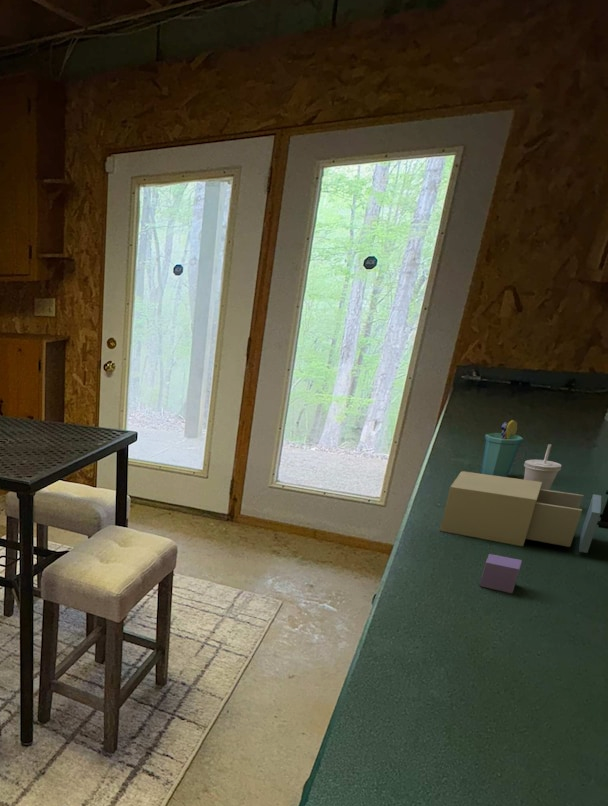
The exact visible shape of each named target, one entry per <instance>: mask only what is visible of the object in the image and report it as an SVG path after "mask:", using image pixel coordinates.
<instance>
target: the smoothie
mask: <svg viewBox="0 0 608 806" xmlns="http://www.w3.org/2000/svg"><path fill="white" fill-rule="evenodd" d="M551 449H552V444H551V443H549V444H547V448H546V451H545V455H544V458H543V459H527V460H525V461H524V463H523V467H524V475H523V480H531V481H538V482H542V485H541V488H540V489H545V490H551V488H552V485H553V483H554V481H555V479H556V477H557V475H558V473H559V472H560V471H561V470H562V465H563V464H561V463H559V462H555V461H552V460H548V459H549V456H550V452H551Z"/></svg>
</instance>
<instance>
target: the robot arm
mask: <svg viewBox="0 0 608 806" xmlns="http://www.w3.org/2000/svg"><path fill="white" fill-rule="evenodd" d="M605 495H608V490H605ZM601 514H602V516H601V518H599V521H601V522H607V523H608V498H607V500H606V502H605V505H604V508H603V511H602V513H601ZM598 528H600V529H606V530H608V526H602V525H598Z"/></svg>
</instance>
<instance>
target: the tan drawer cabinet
mask: <svg viewBox="0 0 608 806" xmlns="http://www.w3.org/2000/svg"><path fill="white" fill-rule="evenodd" d="M541 485H542V482H538V481H531V480H524V478H514V477H508V476H507V477H501V476H494V475H486V474H481V473H478V472H471V471H465V470H461V471H460V473H459V474H458V475H457V477H456V478H455V479H454V481H453V483H452V484H451V485H450V487H449V490H448V496H447V499H446V503H445V506H444V507H445V508H444V511H443V517H442V519H441V524H440V528H439V531H440V532H443V533H444V532H445V533H450V534H455V535H460V536H465V537H470V538H475V539H481V540H486V541H490V542H491V541H492V542H497V543H502V544H508V545H512V546H519V547H524V545H525V541H526V540H527V539H526V535H527V532H528V528H529V525H530V522H531V518H532V515H533V511H534V508H535V505H536V501H537V498H538V495H539V491H540V488H541Z"/></svg>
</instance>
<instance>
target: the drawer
mask: <svg viewBox="0 0 608 806" xmlns="http://www.w3.org/2000/svg"><path fill="white" fill-rule="evenodd" d="M591 496H592V497H591V500H590V503H589V505H588V507H587V512H586V515H585V518H584V521H583V524H582V527H581V529H580V536H579V546H578V552H580V553H586V554H588V552H589V549H590V547H591V543H592V540H593V537H594V535H595V532H596V530H597V529H596V528H597V526H599V525H602V526H608V523H607V522H601V521H600V519H601V516H602V514H603V513H602V495H601V494H592V495H591ZM583 499H584V494H580V493H579V494H578V493H572V492H566V491H558V490H551V489H550V490H545V489H540V491H539V495H538V498H537V501H536V505H535V508H534V511H533V515H532V518H531V522H530V525H529V528H528V532H527V535H526V539H525V540H530V541H535V542H541V543H546V544H552V545H557V546H563V547H567V548H568V547H569V548H571V545H572V543H573V539H574V536H575V533H576V531H577V527H578V524H579V522H580V518H581V515H582V511H583V509H582V508H581V505H582V502H583Z"/></svg>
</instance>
